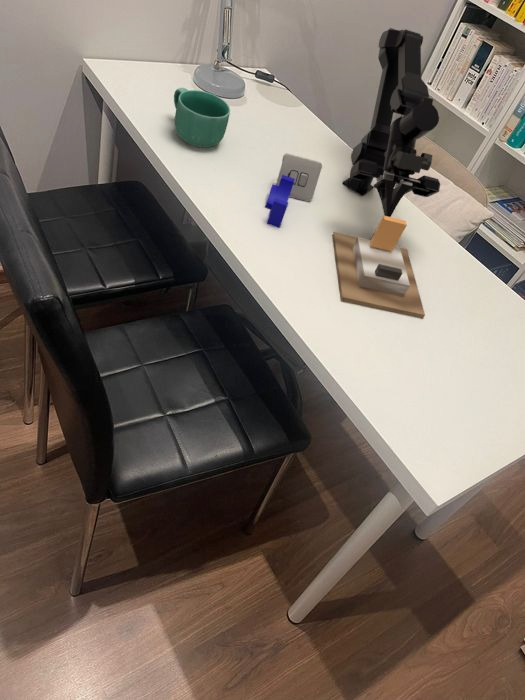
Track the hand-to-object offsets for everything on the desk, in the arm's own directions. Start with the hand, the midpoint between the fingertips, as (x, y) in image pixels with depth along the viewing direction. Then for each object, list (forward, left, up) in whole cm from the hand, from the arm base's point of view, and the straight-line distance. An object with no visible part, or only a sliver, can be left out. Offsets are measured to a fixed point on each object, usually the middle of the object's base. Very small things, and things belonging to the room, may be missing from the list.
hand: (387, 217), depth 123 cm
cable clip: (+7, -23, -10) cm, 26 cm away
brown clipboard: (+7, +5, -9) cm, 12 cm away
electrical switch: (-3, -25, -9) cm, 26 cm away
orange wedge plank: (+4, +3, -1) cm, 5 cm away
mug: (-1, -54, -9) cm, 54 cm away
